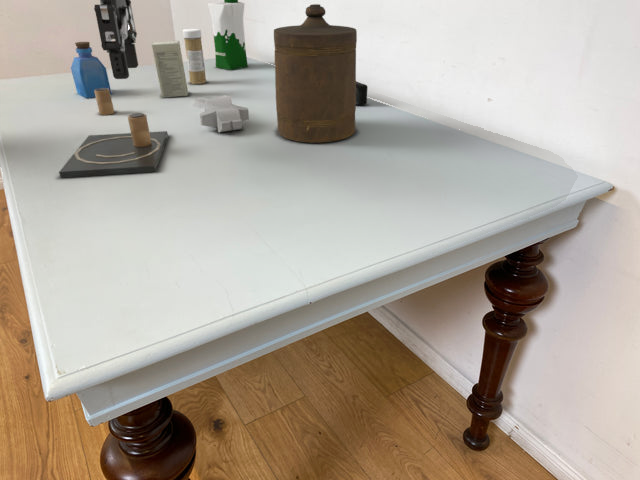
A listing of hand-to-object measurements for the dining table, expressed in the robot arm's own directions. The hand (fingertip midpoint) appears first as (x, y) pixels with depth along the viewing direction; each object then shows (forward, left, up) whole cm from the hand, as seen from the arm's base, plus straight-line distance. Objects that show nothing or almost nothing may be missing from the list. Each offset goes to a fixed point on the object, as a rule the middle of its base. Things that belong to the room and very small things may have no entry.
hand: (127, 72), depth 77 cm
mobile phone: (+42, +28, -13) cm, 52 cm away
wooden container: (+32, +5, -13) cm, 35 cm away
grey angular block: (+14, +13, -13) cm, 23 cm away
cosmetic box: (+2, +40, -13) cm, 42 cm away
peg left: (-11, +26, -13) cm, 31 cm away
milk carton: (+16, +74, -13) cm, 77 cm away
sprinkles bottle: (+7, +53, -13) cm, 55 cm away
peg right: (0, 0, -12) cm, 12 cm away
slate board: (-3, -2, -13) cm, 14 cm away
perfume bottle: (-18, +45, -13) cm, 50 cm away
